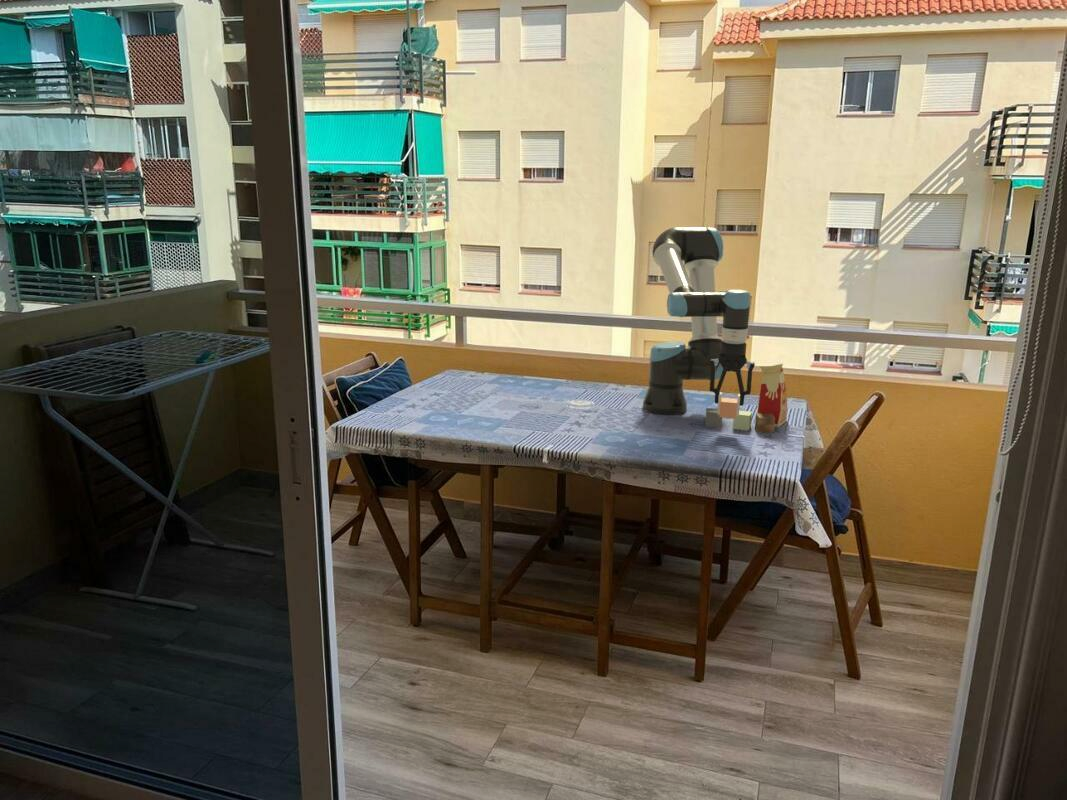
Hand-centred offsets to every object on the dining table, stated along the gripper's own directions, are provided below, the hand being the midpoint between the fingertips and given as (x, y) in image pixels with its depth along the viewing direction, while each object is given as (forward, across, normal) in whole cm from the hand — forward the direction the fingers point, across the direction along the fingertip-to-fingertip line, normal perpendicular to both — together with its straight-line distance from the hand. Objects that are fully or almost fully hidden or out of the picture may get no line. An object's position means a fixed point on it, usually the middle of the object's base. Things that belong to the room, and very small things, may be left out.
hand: (728, 414), depth 243 cm
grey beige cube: (+6, -5, +7) cm, 11 cm away
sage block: (+6, +4, +7) cm, 11 cm away
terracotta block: (0, 0, 0) cm, 0 cm away
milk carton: (+7, +12, +17) cm, 22 cm away
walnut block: (+6, +11, +6) cm, 14 cm away
